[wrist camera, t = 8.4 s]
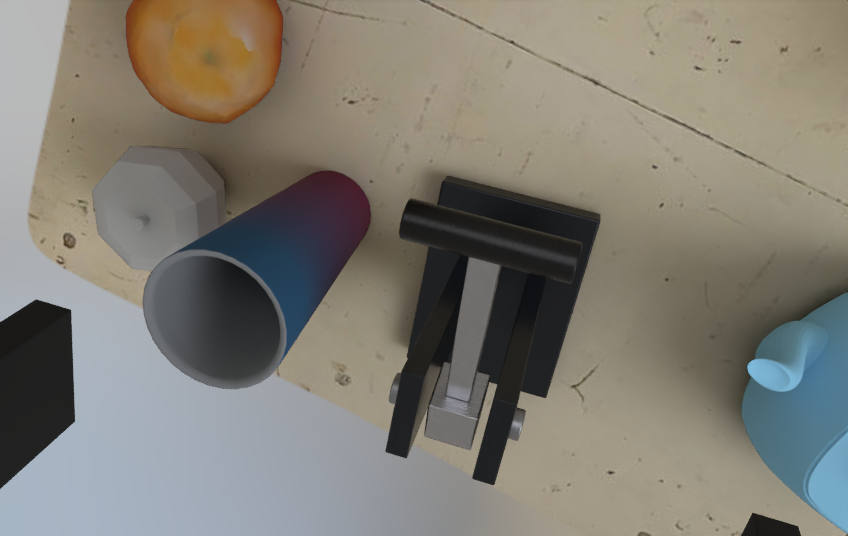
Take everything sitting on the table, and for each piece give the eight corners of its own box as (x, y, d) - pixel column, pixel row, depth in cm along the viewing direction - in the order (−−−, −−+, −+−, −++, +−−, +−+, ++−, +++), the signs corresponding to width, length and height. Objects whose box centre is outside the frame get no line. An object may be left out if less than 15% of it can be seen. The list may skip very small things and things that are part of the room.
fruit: (132, -66, 41) (126, -43, 34) (278, -37, 44) (300, -10, 37) (125, 81, 44) (119, 127, 38) (261, 99, 47) (278, 145, 41)
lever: (416, 180, 26) (395, 227, 25) (587, 223, 25) (576, 275, 24) (400, 382, 36) (384, 424, 35) (522, 418, 35) (511, 463, 34)
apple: (232, 268, 50) (179, 313, 44) (127, 212, 50) (61, 249, 44) (270, 164, 46) (219, 198, 40) (157, 103, 46) (89, 128, 40)
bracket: (446, 174, 43) (369, 278, 30) (601, 213, 42) (590, 340, 29) (410, 348, 49) (332, 502, 36) (547, 388, 47) (518, 562, 34)
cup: (266, 163, 46) (121, 257, 33) (371, 148, 44) (261, 241, 31) (295, 266, 48) (170, 393, 35) (395, 256, 46) (304, 386, 33)
